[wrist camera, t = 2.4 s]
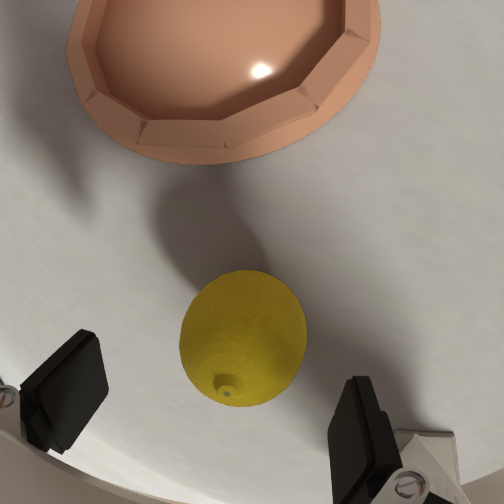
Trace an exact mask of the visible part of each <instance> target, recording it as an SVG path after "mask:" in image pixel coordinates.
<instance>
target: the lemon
mask: <svg viewBox="0 0 504 504" xmlns="http://www.w3.org/2000/svg"><path fill="white" fill-rule="evenodd" d="M306 344H307V329H306V319H305V315H304V313H303V310H302V307H301V305H300V302H299V300H298V299H297V298H296V296H295V295H294V293H293V292H292V291H291V289H290V288H289V287H288V286H286V285H285V284H284V283H283V282H282V281H280V280H279V279H277V278H275V277H273V276H271V275H269V274H267V273H264V272H259V271H254V270H238V271H234V272H230V273H227V274H224V275H222V276H220V277H218V278H216V279H215V280H213V281H211V282H210V283H208V284H207V285H206V286H205V287H204V288H203V289H202V290H201V291H200V292H199V293H198V294H197V295H196V297H195V298H194V299H193V301H192V303H191V305H190V307H189V309H188V311H187V313H186V315H185V317H184V319H183V323H182V328H181V335H180V341H179V349H180V356H181V362H182V365H183V368H184V370H185V372H186V374H187V376H188V378H189V379H190V381H191V382H192V383H193V384H194V386H195V387H196V388H197V389H198V390H199V391H200V392H201V393H203V394H204V395H205V396H207V397H208V398H210V399H212V400H214V401H216V402H218V403H221V404H224V405H228V406H235V407H250V406H254V405H259V404H262V403H265V402H267V401H269V400H271V399H273V398H275V397H276V396H278V395H279V394H280V393H281V392H282V391H284V390H285V389H286V388H287V387H288V386H289V384H290V383H291V382H292V380H293V379H294V377H295V375H296V374H297V372H298V370H299V368H300V366H301V364H302V360H303V357H304V353H305V349H306Z"/></svg>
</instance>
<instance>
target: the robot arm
mask: <svg viewBox="0 0 504 504" xmlns="http://www.w3.org/2000/svg"><path fill="white" fill-rule="evenodd" d="M20 387H21V390H20V391H19V392H18V390H17V389H16V388H15V387H13V386H10V385H1V386H0V504H170V503H166V502H163V501H159V500H156V499H153V498H149V497H146V496H143V495H140V494H137V493H134V492H131V491H129V490H126V489H123V488H120V487H118V486H115V485H113V484H110V483H108V482H105V481H103V480H100V479H98V478H96V477H93V476H91V475H89V474H87V473H84V472H82V471H80V470H78V469H76V468H74V467H72V466H70V465H68V464H66V463H64V462H62V461H60V460H58V459H56V458H54V457H52V456H51V455H49V454H48V450H49V449H50V448H51V449H52V450H54V451H56V452H57V453H59V454H61V455H62V454H63V453H64V451H65V450H68V449H70V448H71V446H72V445H73V443H74V442H75V440H76V439H77V438H78V436H79V435H80V433H81V432H82V430H83V429H84V427H85V426H86V425H87V423H88V422H89V420H90V419H91V417H92V416H93V415H94V413H95V412H96V410H97V409H98V408H99V406H100V405H101V403H102V402H103V401H104V399H105V398H106V396H107V395H108V391H109V387H108V382H107V378H106V374H105V369H104V364H103V359H102V354H101V349H100V343H99V339H98V338H97V337H96V335H95V333H93V332H90V331H87V330H84V329H80V330H79V331H78V332H77V333H75V334H74V335H73V336H72V337H71V338H70V339H69V340H68V341H67V342H65V343H64V344H63V345H62V346H61V347H60V348H59V349H58V350H57V351H56V352H55V353H53V354H52V355H51V356H50V357H49V358H48V359H47V360H46V361H45V362H44V363H43V364H42V365H41V366H40V367H39V368H37V369H36V370H35V371H34V372H33V373H32V374H31V375H30V376H29V377H28V378H27V379H26V380H25V381H24V382H23V383H22V384H21V385H20ZM328 446H329V457H330V468H331V481H332V494H333V504H454V503H451V502H449V501H448V500H446V499H444V498H442V497H440V496H438V495H436V494H434V493H432V492H430V491H429V490H430V481H429V479H428V477H427V476H426V475H425V473H424V472H422V471H420V470H419V469H416V468H411V467H405V468H403V464H402V460H401V457H400V454H399V450H398V447H397V443H396V440H395V437H394V434H393V430H392V427H391V424H390V421H389V418H388V415H387V413H386V412H385V411H380V408H379V404H378V401H377V398H376V395H375V392H374V389H373V386H372V383H371V380H370V377H369V376H353V377H352V379H351V380H350V379H348V380H347V381H346V384H345V387H344V389H343V392H342V395H341V397H340V400H339V403H338V405H337V408H336V410H335V413H334V415H333V418H332V420H331V423H330V425H329V428H328Z"/></svg>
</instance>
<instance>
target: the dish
mask: <svg viewBox="0 0 504 504" xmlns="http://www.w3.org/2000/svg"><path fill="white" fill-rule="evenodd" d="M380 29H381V19H380V11H379V4H378V1H377V0H79V2H78V5H77V8H76V12H75V15H74V18H73V22H72V25H71V29H70V33H69V37H68V41H67V45H66V49H65V51H66V52H65V54H66V58H67V61H68V65H69V68H70V72H71V75H72V79H73V82H74V85H75V88H76V91H77V94H78V98H79V101H80V104H81V106H83V108H84V109H85V110H86V111H87V113H88V114H89V116H90V117H91V119H92V120H93V121H94V122H95V123H96V124H97V126H98V127H99V128H100V129H101V130H102V131H103V132H104V133H105V134H107V135H108V136H109V137H110V138H111V139H113V140H114V141H115V142H117V143H119V144H120V145H122V146H124V147H125V148H127V149H129V150H131V151H133V152H136V153H138V154H141V155H143V156H145V157H149V158H153V159H156V160H160V161H164V162H170V163H179V164H187V165H213V164H223V163H232V162H239V161H243V160H247V159H252V158H256V157H260V156H263V155H266V154H269V153H271V152H274V151H277V150H280V149H283V148H285V147H287V146H289V145H291V144H293V143H295V142H297V141H299V140H301V139H303V138H304V137H306V136H307V135H309V134H311V133H312V132H314V131H315V130H317V129H318V128H320V127H321V126H323V125H324V124H325V123H326V122H327V121H329V120H330V119H331V118H332V117H333V116H334V115H336V114H337V113H338V112H339V111H340V110H341V109H342V108H343V106H344V105H345V104H346V103H347V102H348V101H349V100H350V99H351V98H352V97H353V95H354V94H355V93H356V92H357V90H358V89H359V87H360V86H361V84H362V83H363V81H364V80H365V78H366V77H367V75H368V73H369V71H370V68H371V66H372V64H373V62H374V59H375V57H376V53H377V49H378V45H379V41H380Z"/></svg>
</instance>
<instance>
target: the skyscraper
mask: <svg viewBox="0 0 504 504" xmlns="http://www.w3.org/2000/svg"><path fill="white" fill-rule="evenodd" d="M393 434H394V437H395V440H396V443H397V447H398V450H399V454H400V457H401V460H402V464H403V468H405V467H411V468H416V469H419V470H420V471H422V472H424V473H425V475H426V476H427V477H428V479H429V481H430V490H429V491H430V492H432V493H434V494H436V495H438V496H440V497H442V498H444V499H446V500H448V501H449V502H451V503H454V504H471V503H470V501H469V500H468V498H467V497H466V495H465V494H464V492H463V491H462V490H461V488H460V477H459V466H458V456H457V448H456V440H455V435H454V433H438V432H419V431H405V430H395V432H394V433H393Z"/></svg>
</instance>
